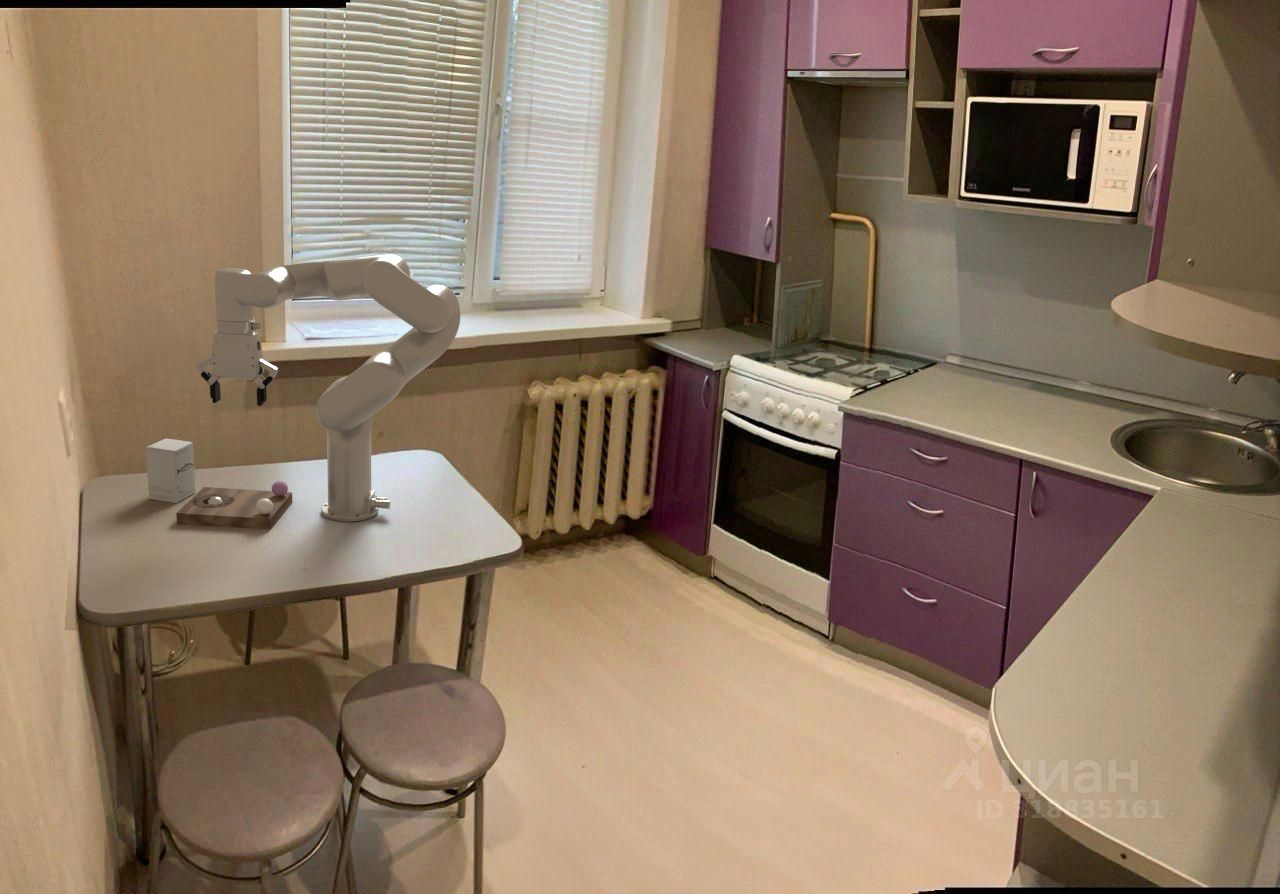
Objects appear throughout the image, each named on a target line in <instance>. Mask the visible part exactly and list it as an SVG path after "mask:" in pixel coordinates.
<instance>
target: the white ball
mask: <svg viewBox="0 0 1280 894" xmlns="http://www.w3.org/2000/svg"><path fill="white" fill-rule="evenodd" d="M256 509H257V511H258V512H259V513H260V514H268V513H270V512H271V511H272V509H273V503H272V502H271V501H270V500H269V499H266V498H263V499H260V500H259V501H258V502H257V504H256Z"/></svg>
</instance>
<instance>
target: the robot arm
mask: <svg viewBox="0 0 1280 894" xmlns="http://www.w3.org/2000/svg"><path fill="white" fill-rule="evenodd" d="M214 295H215V297H214V298H215V315H216V316H215V317H216V319H215V320H216V330H215V331H214V333H213V338H212V346H211V355H210V356H211V357H209V358H207V359H204V360H202V361H200V362H197V363H196V365H195V366H196V369H197V370H198V372H199V374H200V377H202V378H203V380H204V381H206V383H207V385H208V386H209V391H210V392H209V395H210V399H212V400H211V401H212V404H216V403H218V402H219V401H220V400H221V398H222V396H221V394H222V393H221V383H220V381H219V379H231V380H232V379H233V380H249V381H253V382H254V383H255V384H256V385H257V388H256V405H257V406H258V407H262V406H263V405H264V404H265V403H266V402H267V398H268V395H267V386H268V385H269V384H271V382H272V381H274V379H275V377H276V376H277V374H278V372H279V368H278V367H277V366H275V365H273V364H271V363H270V362H268V361H266V360H265V359H264V355H263V349H262V344H261V343H262V342H261V337H260V335H259V332H258V331H256V330H261V327H262V326H261V325H262V324H261V323H260V322H257V321H256V318H255V314H254V307H256V308H261V309H272V308H276V307H277V306H279V305H281V304H282V303H284V302H286V301H288V300H296V299H302V298H311V297H312V298H313V297H326V298H329V299H331V300H332V301H339V302H341V301H347V300H348V301H349V300H355V299H365V298H371V299H372V300H374V301H375V303H377V304H379V306H381V307H383V308H384V309H386V310H388V311H389V312H391V314H393V315H395V316H396V317H398V318H399V319H401V320H402V321H404V323H407V324H408V325H410V326H411V327H412V328H411V329H409V330H408V331H407V332H405V333H404V334H403V335H402V336H400V337H399V338H398V339H397V340H395V341H394V342H393V343H391V344H390V345H388V346H387V347H384V349H382V350H380V351H378V352H377V353H375V354H373V355H372V356H370V357H369V358H368V359H367V360H366V361H365V362H364V363H362V365H361V366H359V367H358V368H357V369H355V370H354V371H353V372H352V373H350V374H349V375H347V376H343V377H340V378H338V379H336V380H335V381H333V382H332V383H331V384H330V385H329V386H328V388H327V389H326V390H325V391H324V392H323V393H322V394H321V395H320V396H319V398H318V399H317V402H316V407H315V412H316V413H315V414H316V417H317V420H318V421H319V424H320V425H322V427H324V428H325V429H327V430H326V431H327V432H326V433H327V434H326V435H327V437H326V440H327V442H326V443H327V444H326V449H327V451H326V452H327V453H326V454H327V455H326V456H327V457H326V458H327V501H326V502H325V503H323V504H322V505H321V507H320V512H321V513H320V514H321V515H322V516H323V517H325V518H327V519H328V520H332V521H335V522H336V521H337V522H346V523H347V522H360V521H365V520H368V519H372V518H373V517H375V516H376V515H377V514H378V513H379V509H386V510H387V509H388V510H389V509H391V500H388V497H386V496H385V497H384V496H381V497H379V496H378V495H375V493H376V490H374V489H372V429H373V428H372V426H373V425H372V423H373V415H374V414H375V413H377V412H378V411H379V410H381V409H383V408H384V407H386V405H388V404H389V403H390V402H391V401H393V400H394V399H395V398H396V397H397V396H398V395H399V394H400V392H401V391H402V389H404V387H405V386H406V384H407V383H408V382H409V381H411V380H412V379H413V378H415V376H417V375H418V374H420V373H421V372H423V370H425V369H426V368H428V367H429V366H430V365H431V364H433V363H434V362H435V361H436V360H438V359H439V358H440V357H441V356H443V354H444V353H446V351H447V350H448V349H449V347H451V345H452V344H453V342H454V341H455V338H456V336H457V334H458V331H459V328H460V323H461V308H460V303H459V299H458V297H457V296H456V294H455V293H454V291H453V290H452V289H451V288H450V287H447V286H445V285H441V284H435V285H431V286H430V285H429V286H427V287H425V286H423V285H422V284H421V283H419V282H418V281H416V279H415V280H414V278H412V277H411V269H410V267H409V265H408V263H407V262H406V261H405V260H404V258H402V257H401V256H398V255H395V254H380V255H371V256H362V257H354V258H346V259H336V260H325V261H317V262H316V261H315V262H303V263H295V264H294V263H293V264H284V265H277V266H273V267H270V268H267V269H265V270H263V271H260V272H257V273H251V271H249V270H248V269H244V268H241V267H240V268H239V267H225V268H224V267H223V268H220V269H218V270H216V272H215V273H214ZM207 366H210V367H211V373H212V374H211V373H210V371H209V370H207ZM265 371H267V372H269V373H268V376H267V377H264V375H263V374H264V372H265Z"/></svg>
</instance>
